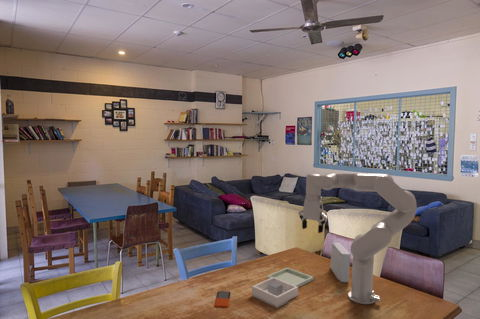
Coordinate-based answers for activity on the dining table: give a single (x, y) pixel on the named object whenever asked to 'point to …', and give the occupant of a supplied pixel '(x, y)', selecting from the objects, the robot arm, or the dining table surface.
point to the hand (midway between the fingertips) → (312, 230)
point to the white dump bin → (262, 294)
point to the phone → (222, 299)
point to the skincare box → (340, 262)
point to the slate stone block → (275, 288)
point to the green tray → (292, 277)
